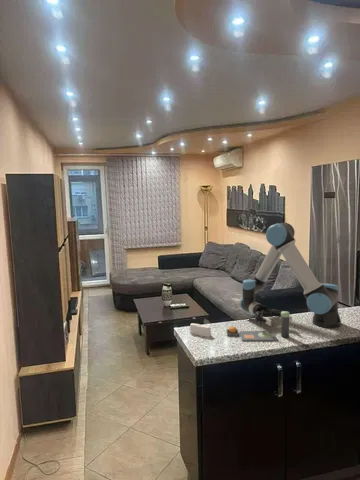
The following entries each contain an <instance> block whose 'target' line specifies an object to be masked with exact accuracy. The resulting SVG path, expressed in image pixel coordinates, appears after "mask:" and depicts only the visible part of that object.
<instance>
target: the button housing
mask: <svg viewBox="0 0 360 480" xmlns="http://www.w3.org/2000/svg"><path fill="white" fill-rule="evenodd" d="M226 336H227V337H239V336H240V332H239V329H237V328H236V333H229V328H227V329H226Z"/></svg>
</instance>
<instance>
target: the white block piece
mask: <svg viewBox="0 0 360 480" xmlns="http://www.w3.org/2000/svg"><path fill="white" fill-rule="evenodd" d="M211 327H212V326H210V325H204V324H203V325H202V324H200V323H190V324H189V332H190V334H193V335H197V336H202V337H206V338H207V337H209V338H210V337H211V335H212V332H211V331H212V329H211Z"/></svg>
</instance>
